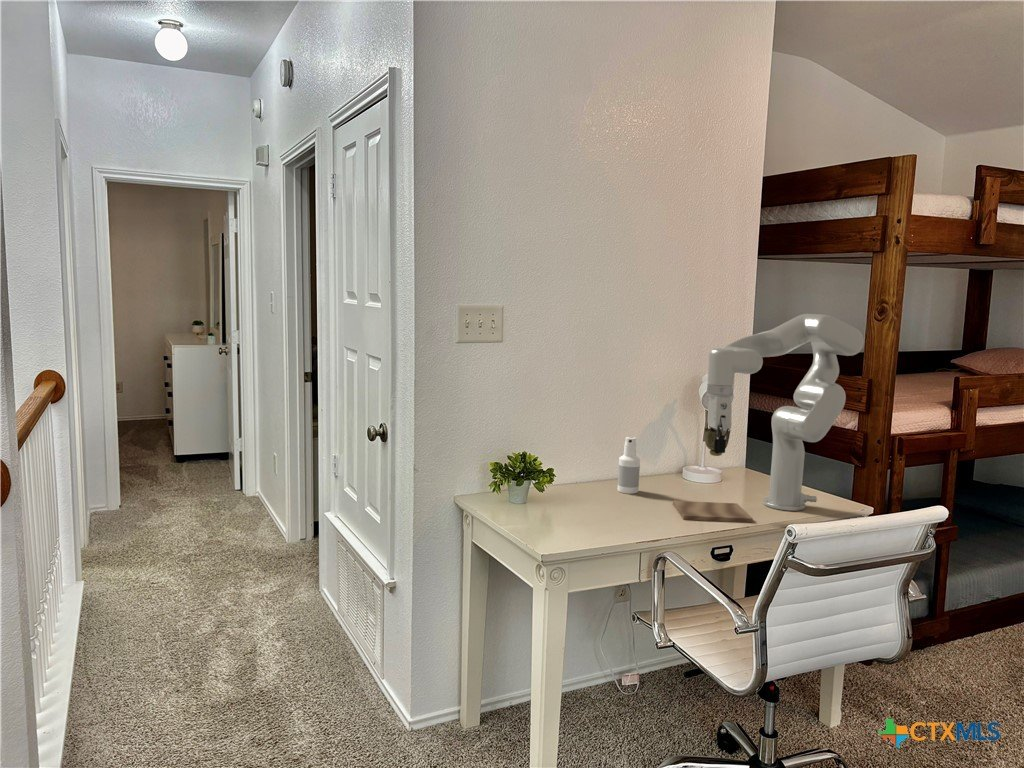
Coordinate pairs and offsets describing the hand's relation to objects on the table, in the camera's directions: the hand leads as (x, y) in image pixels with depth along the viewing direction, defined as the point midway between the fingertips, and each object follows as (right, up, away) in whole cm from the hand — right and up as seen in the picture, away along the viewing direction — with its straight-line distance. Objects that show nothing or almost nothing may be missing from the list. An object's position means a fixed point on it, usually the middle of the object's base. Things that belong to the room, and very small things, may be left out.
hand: (716, 449), depth 226 cm
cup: (0, -2, 0) cm, 2 cm away
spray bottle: (-23, -16, +24) cm, 37 cm away
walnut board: (-1, -19, +2) cm, 19 cm away
